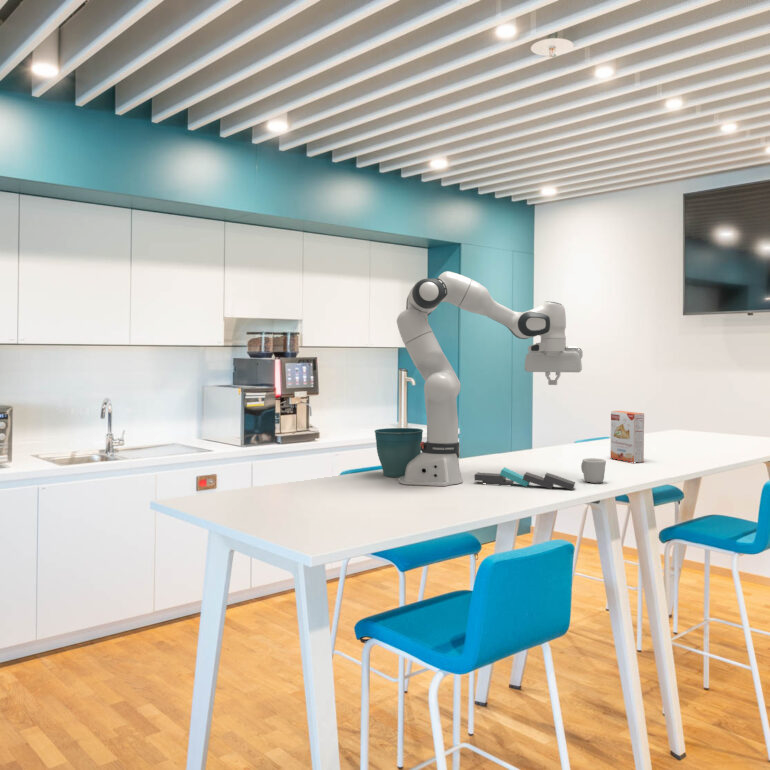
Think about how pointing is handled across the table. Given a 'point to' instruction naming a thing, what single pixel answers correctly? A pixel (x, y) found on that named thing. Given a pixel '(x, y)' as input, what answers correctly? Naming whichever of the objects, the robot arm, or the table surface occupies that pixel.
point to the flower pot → (397, 449)
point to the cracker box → (627, 436)
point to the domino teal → (514, 476)
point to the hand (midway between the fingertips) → (552, 384)
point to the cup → (593, 470)
